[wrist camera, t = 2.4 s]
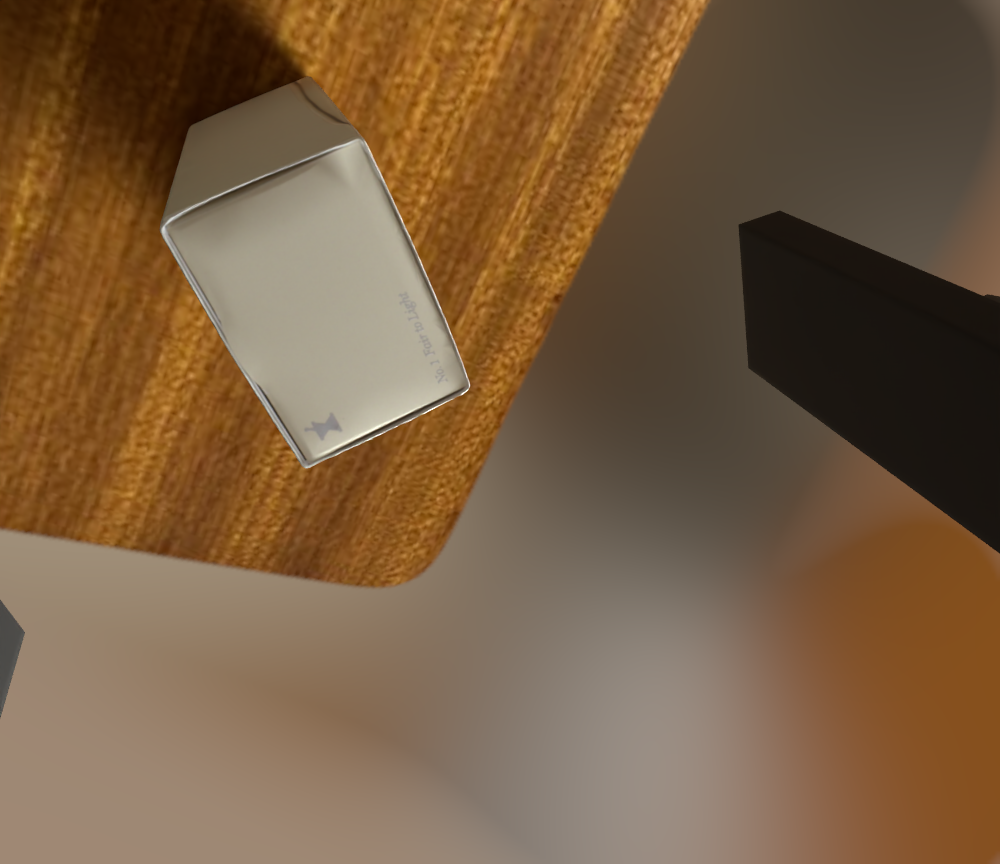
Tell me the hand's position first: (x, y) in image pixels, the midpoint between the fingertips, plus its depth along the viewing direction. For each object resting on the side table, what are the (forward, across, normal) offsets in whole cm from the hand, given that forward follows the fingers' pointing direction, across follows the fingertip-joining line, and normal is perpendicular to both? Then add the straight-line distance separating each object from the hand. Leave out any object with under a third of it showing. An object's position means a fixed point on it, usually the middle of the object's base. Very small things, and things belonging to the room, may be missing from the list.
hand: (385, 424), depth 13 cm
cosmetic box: (+17, 0, 0) cm, 17 cm away
